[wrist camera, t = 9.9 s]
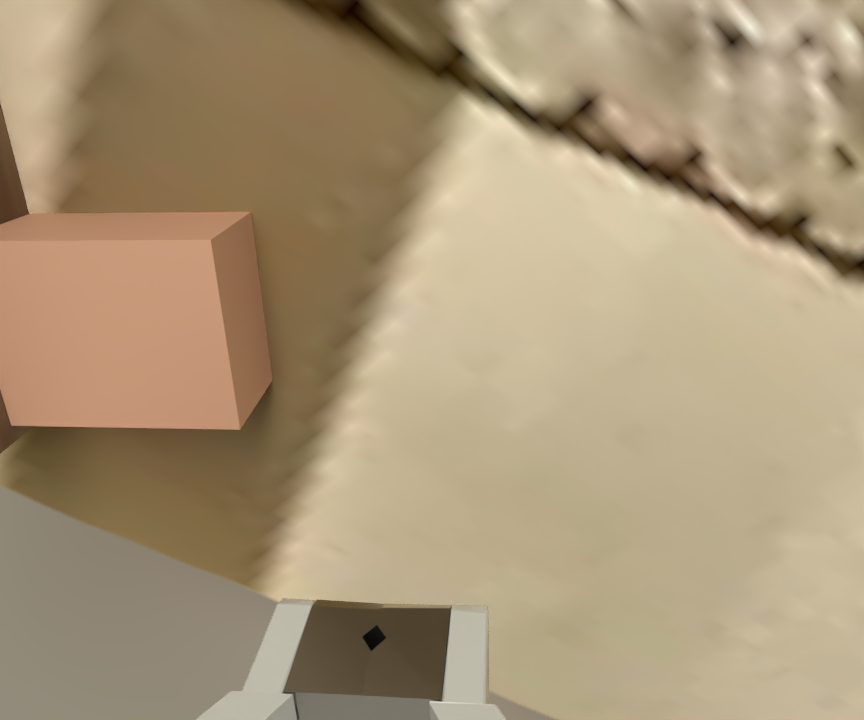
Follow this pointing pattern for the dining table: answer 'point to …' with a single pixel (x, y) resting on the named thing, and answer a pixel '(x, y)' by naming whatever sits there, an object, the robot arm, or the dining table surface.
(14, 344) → the terracotta block
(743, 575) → the dining table surface
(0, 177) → the walnut board
